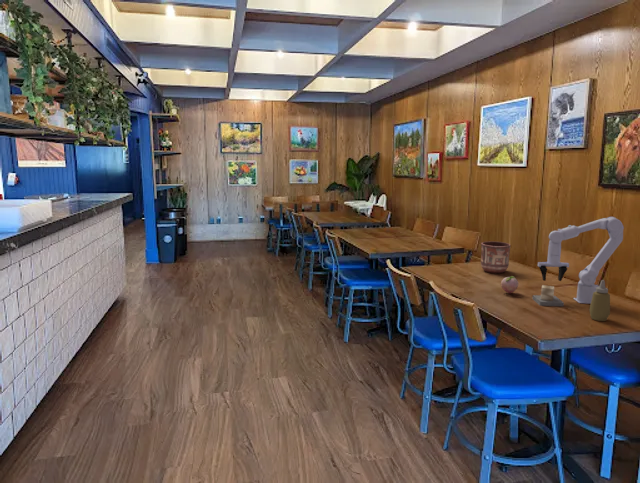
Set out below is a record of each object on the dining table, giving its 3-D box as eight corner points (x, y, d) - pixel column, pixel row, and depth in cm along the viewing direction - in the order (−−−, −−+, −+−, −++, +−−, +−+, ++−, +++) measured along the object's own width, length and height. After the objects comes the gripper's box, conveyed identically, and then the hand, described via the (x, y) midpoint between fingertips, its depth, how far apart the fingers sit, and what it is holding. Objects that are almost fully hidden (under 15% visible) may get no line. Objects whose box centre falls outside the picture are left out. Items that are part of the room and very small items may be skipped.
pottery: (473, 269, 298) (475, 242, 295) (493, 267, 305) (495, 240, 302) (493, 276, 282) (496, 247, 279) (514, 273, 290) (517, 245, 286)
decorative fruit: (503, 290, 251) (504, 272, 250) (519, 292, 246) (520, 274, 245) (497, 294, 244) (499, 275, 243) (513, 296, 239) (515, 278, 237)
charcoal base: (554, 300, 235) (555, 295, 234) (563, 307, 224) (563, 302, 223) (532, 299, 236) (532, 295, 235) (539, 306, 225) (540, 301, 225)
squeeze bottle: (601, 316, 210) (606, 277, 206) (613, 322, 202) (618, 282, 199) (584, 316, 209) (588, 278, 206) (595, 322, 201) (599, 282, 198)
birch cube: (552, 297, 231) (554, 286, 230) (553, 300, 226) (554, 289, 225) (540, 296, 233) (541, 285, 232) (540, 299, 228) (541, 287, 227)
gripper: (565, 253, 236) (563, 278, 238) (536, 252, 238) (534, 278, 240) (571, 256, 229) (569, 282, 232) (541, 255, 231) (539, 281, 233)
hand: (551, 280), depth 235 cm, fingers open, 7 cm apart
